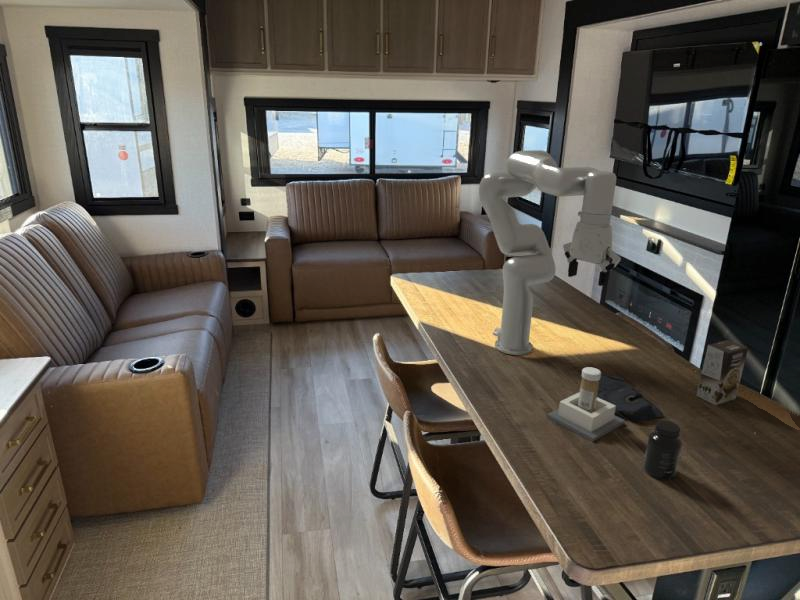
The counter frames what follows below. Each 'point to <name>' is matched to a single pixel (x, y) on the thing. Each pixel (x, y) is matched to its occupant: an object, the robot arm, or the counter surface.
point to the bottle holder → (586, 418)
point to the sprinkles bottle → (589, 389)
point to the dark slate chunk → (626, 400)
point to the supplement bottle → (663, 450)
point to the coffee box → (722, 372)
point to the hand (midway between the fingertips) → (587, 280)
